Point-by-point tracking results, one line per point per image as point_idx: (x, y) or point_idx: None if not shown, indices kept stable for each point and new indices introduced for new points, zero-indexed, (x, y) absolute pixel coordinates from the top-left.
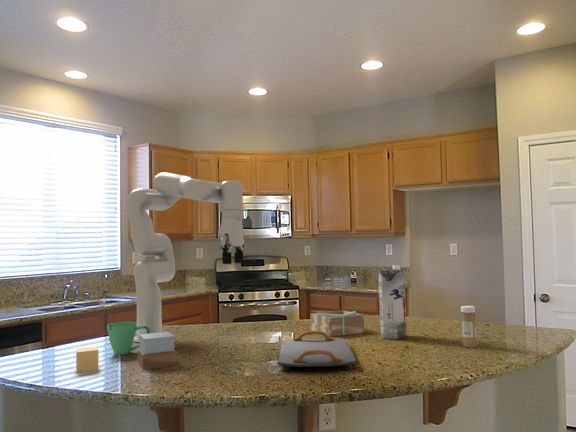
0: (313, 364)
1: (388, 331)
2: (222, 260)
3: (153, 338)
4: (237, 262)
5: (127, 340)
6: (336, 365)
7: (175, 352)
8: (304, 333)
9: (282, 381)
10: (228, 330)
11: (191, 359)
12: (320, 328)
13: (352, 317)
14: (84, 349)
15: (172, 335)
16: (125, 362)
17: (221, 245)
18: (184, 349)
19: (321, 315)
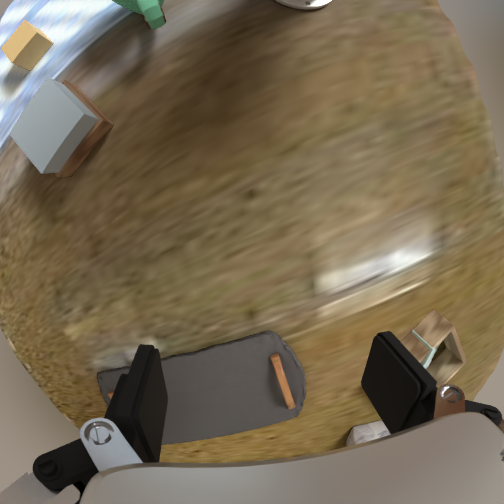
0: None
1: (350, 440)
2: (133, 360)
3: (18, 144)
4: (369, 354)
5: (126, 7)
6: None
7: (58, 177)
8: (278, 381)
9: (69, 378)
10: (434, 125)
11: (113, 179)
12: (408, 344)
13: None
14: (16, 38)
15: (44, 165)
16: (74, 66)
17: (35, 474)
18: (205, 101)
19: (425, 358)
